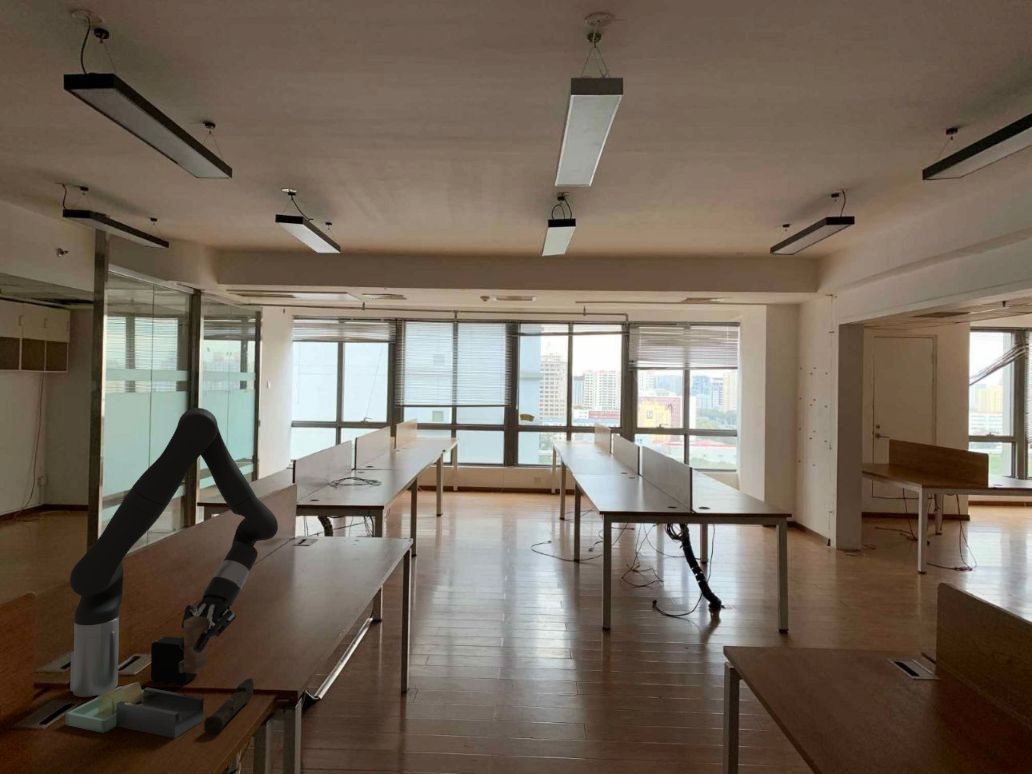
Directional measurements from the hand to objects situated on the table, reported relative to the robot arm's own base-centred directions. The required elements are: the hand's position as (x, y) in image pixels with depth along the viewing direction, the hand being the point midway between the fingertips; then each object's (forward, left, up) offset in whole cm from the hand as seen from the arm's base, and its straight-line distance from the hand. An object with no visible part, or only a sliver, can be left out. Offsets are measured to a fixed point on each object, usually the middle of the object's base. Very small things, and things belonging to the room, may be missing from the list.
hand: (189, 649), depth 151 cm
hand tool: (+11, +1, -14) cm, 18 cm away
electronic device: (-14, +10, -13) cm, 22 cm away
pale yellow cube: (-9, -8, -10) cm, 16 cm away
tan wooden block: (0, +2, -5) cm, 6 cm away
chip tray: (-14, -8, -13) cm, 21 cm away
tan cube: (-12, -8, -11) cm, 18 cm away
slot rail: (0, -8, -13) cm, 15 cm away
